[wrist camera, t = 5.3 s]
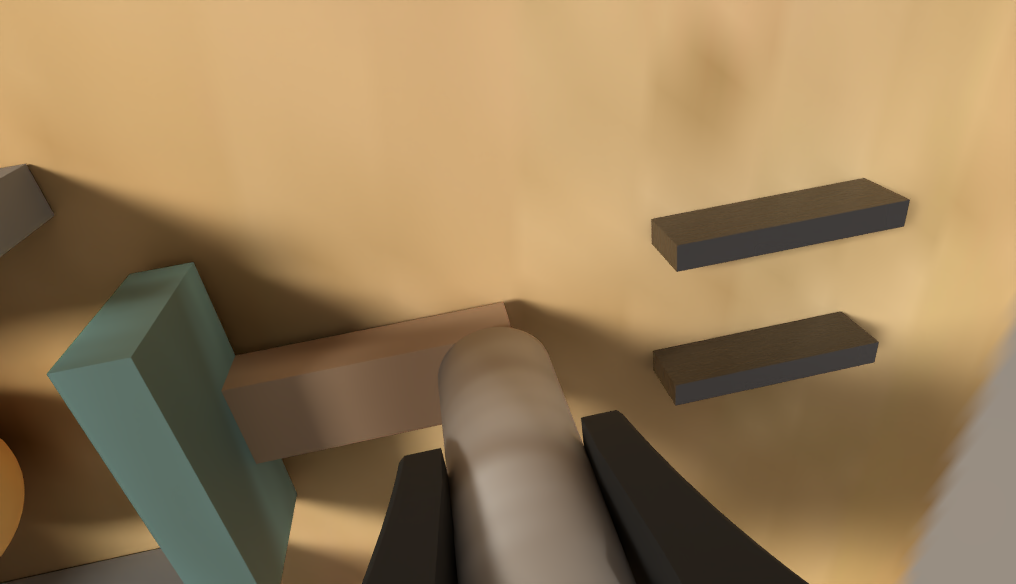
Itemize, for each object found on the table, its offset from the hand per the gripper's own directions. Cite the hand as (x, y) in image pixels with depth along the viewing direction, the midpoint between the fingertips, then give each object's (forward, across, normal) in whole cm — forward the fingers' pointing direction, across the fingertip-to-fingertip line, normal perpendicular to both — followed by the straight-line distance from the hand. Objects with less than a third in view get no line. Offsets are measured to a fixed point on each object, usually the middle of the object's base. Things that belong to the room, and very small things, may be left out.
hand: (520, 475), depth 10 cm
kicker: (+4, +4, 0) cm, 6 cm away
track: (+4, -6, 0) cm, 8 cm away
